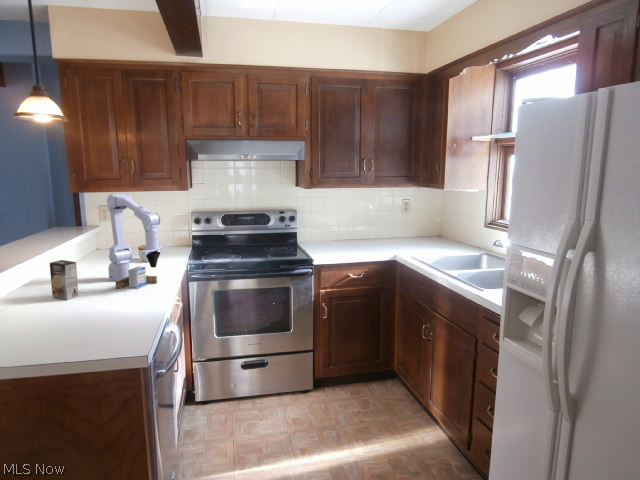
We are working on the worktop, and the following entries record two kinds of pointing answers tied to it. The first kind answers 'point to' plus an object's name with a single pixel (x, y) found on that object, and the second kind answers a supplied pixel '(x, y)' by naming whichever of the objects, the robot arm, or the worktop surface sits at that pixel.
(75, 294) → the coffee box
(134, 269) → the medicine box
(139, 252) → the lidded bowl
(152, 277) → the brown wooden block
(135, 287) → the pad
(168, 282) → the worktop surface
